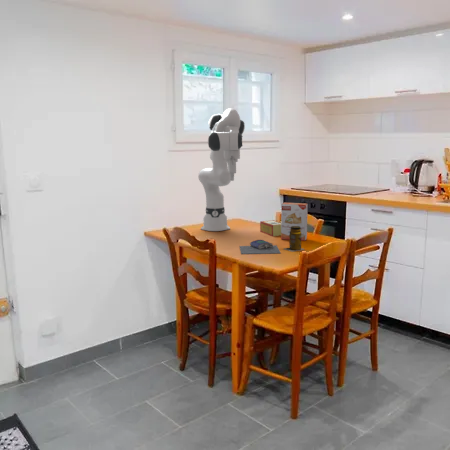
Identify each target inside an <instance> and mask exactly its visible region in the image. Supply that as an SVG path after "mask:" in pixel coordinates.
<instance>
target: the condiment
mask: <svg viewBox="0 0 450 450" xmlns="http://www.w3.org/2000/svg"><path fill="white" fill-rule="evenodd" d="M283 250H285V251H289V252H292V253H293V252H297V251H298V252H299V251H303V250H305V249H304V248H302V241H301V227H299V226H291V229H290V240H289V247H285V248H283Z"/></svg>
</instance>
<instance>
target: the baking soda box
mask: <svg viewBox="0 0 450 450" xmlns="http://www.w3.org/2000/svg"><path fill="white" fill-rule="evenodd" d="M259 224H260V225H259V226H260V227H259V231H260V233H263V234H265V235H268V236H270V237H279V236H280V237H281V222H280V221H277V220H275V219H272V220H265V221H264V220H262V221H260V223H259Z"/></svg>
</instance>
